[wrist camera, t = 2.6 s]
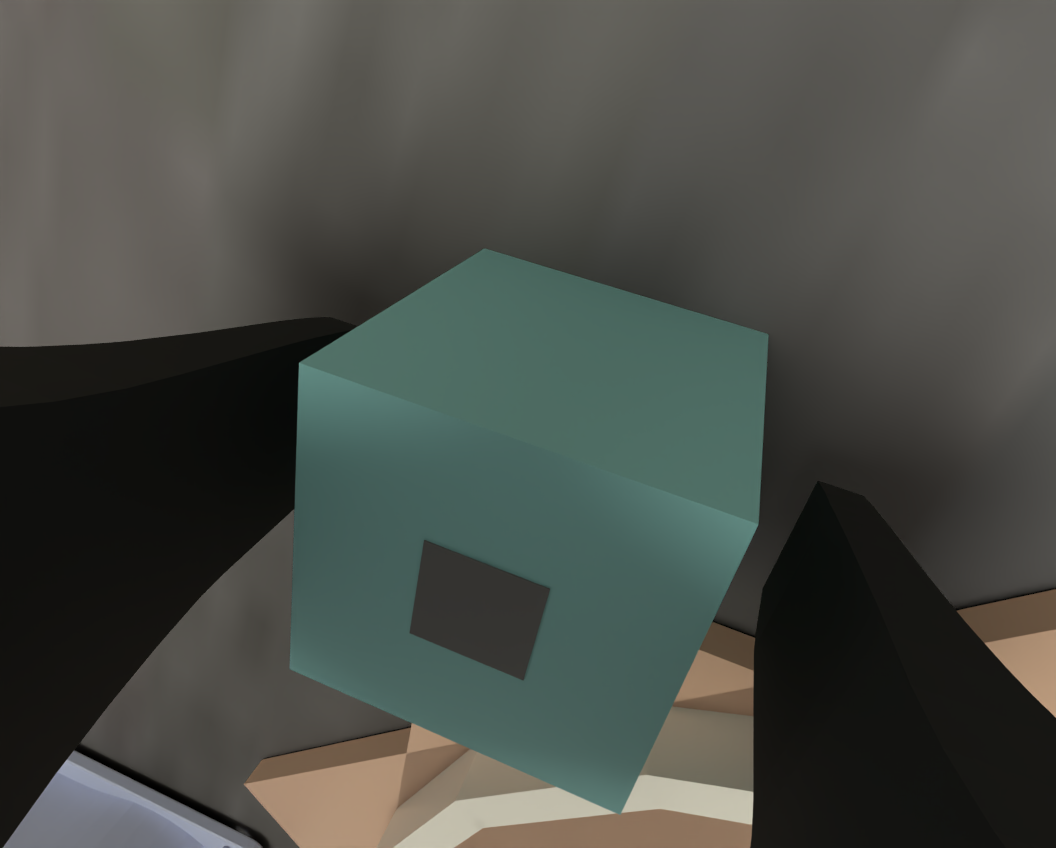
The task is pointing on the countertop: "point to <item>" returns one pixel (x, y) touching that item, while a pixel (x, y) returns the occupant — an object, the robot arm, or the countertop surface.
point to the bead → (524, 513)
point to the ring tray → (561, 817)
